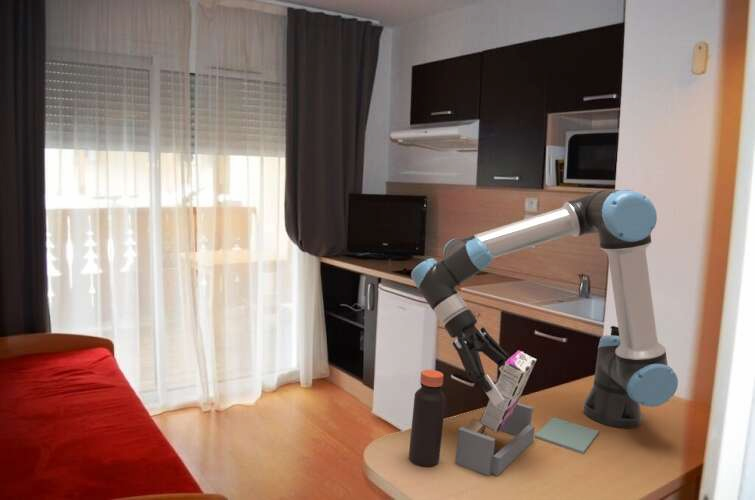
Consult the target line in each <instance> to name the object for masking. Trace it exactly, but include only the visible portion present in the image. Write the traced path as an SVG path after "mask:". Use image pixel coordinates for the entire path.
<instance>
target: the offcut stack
mask: <svg viewBox="0 0 755 500" xmlns="http://www.w3.org/2000/svg"><path fill="white" fill-rule="evenodd" d="M462 427H464V428H466V429H469V430H472V431H475V432H478V433H481V434H483V435H486V436H487V431H486V426H484V425H482V424H481V423H480V419H476V418H473V417H471V418H470V419H469V420H468V421H467V422H466V423H465V424H464V425H463V426H462Z"/></svg>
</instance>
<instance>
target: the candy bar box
mask: <svg viewBox="0 0 755 500" xmlns="http://www.w3.org/2000/svg"><path fill="white" fill-rule="evenodd" d="M509 357H510V358H509V359H508V360H507V361H506V362H505V363H504V366H503V368H502V370H501V371H500V373H499V375H498V377H497V380H496V383H494V384H495V386H496V387H497V389H498V390H499V392H500V393H501V394H502V396H503V397H504V399H505V400H504V401H502V402H501V403H499V404H498V405H496V406H494V405H493V403H492V402H491V400H490V399H488V401H487V403H486V406H485V408H484V411H483V413H482V415H481V417H480V419H479V420H480V423H481V424H482V425H484V426H485V428H487V429H489V430H491V431H493V432H494V433H496V434H498V433H499V432H500V431H501V430H500V429H501V428H502V427H503V426H504V425H505V423H506V422H507V421H508V420H509V419H510V418H511V416H512V414H513V411H514V409H515V407H516V405H517V402H518V403H519V401H520V398H521V396H522V394H523V392H524V389H525V386H526V384H527V382H528V380H529V378H530V375H531V373H532V371H533V369H534V367H535V364H536V362H537V358H535V357H532V356H531V355H530V354H528V353H525V352H524V351H521V350H517V351H516V352H515V353H514V354H512V355H511V356H509Z"/></svg>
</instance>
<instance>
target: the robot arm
mask: <svg viewBox="0 0 755 500" xmlns="http://www.w3.org/2000/svg"><path fill="white" fill-rule="evenodd" d="M657 219H658V217H657V210H656V207H655V205H654V204H653V202H652V201H651V199H650V198H648V197H647V196H646V195H644V194H642V193H640V192H638V191H634V190H630V189H601V190H596V191H594V192H592V193H590V194H587V195H584V196H581V197H578V198H575V199H572V200H570V201H566V202H564V203H563V205H562V207H560V208H556V209H554V210H550V211H547V212H544V213H540V214H537V215H534V216H531V217H527V218H525V219H524V218H523V219H521V220H518V221H514V222H512V223H508V224H506V225H505V224H504V225H501V226H499V227H496V228H491V229H489V230H486V231H483V232H480V233H475V234H473V235H469V236H466V237H463V238H453V239H451V240H449V241H447V242H446V243H445V245H444V248H443V251H442V252H443V253H442V254H443V258H444V259H442V260H441V261H437V260H436V259H435V258H432V257H431V258H428V259H426V260H423V261H422V262H420V263H419V264H417V265H416V266H415V267H414V268H413V269H412V271H411V275H410V276H411V280H412V281H413V283H414V284H415V286H416V288H417V290H419V292H420V294H421V295H422V296H423V298H424V299H425V300H426V302H427V303H428V305H429V307H430V308H431V309H432V311H433V312H434V314H435V317H436V318H437V319H438V320H439V321H440V323H441V324H444V328H445V331H446V332H447V333H448V335H449V336H450V337H451V339H455V338H456V339H455V340H454V341H452V346H453V347H454V349H455V350H456V352H457V355H458V357H459V359H460V362H461V363H462V365H463V368H464V371H465V373H466V375H467V378H468V380H469V381H471V382H472V383H474V384H475V383H476V382H478V384H479V385H480V387H481V388H482V390H483V392H484V393H485V394H486V395H487V397H488V398H489V399H490V400H491V402H492V403H493V405H494V406H496V405H498V404H499V403H501V402H502V401H504V400H505V399H504V397H503V396H502V394H501V393H500V392H499V390H498V389H497V387H496V386H495V384H496V383H494V381H493V380H492V378H491V377H490V376H489V374H486V373H485V370H484V369H485V368H484V366H483V362H482V360H481V357H480V354H479V353H482V354H484V356H486V357H488V358H489V359H490V360H491V361H492V362H494V364H496V365H497V366H499V368H498V370H499V371H500V372H501V370H502V368H503V366H504V363H505V362H506V361H507V360H508V359H509V358H510V357H511V356H510V354H508V352H507V351H505V349H504V348H503V347H502V346H501V345H500V344H499V343H498V342H497V341H496V340H495V339H494V338H493V337H492V336H491V335H490V334H489V332H488V331H487V330H486V328H485V327H483V326H482V327H480V329H478V328H477V327H476V324H477V322H478V319H477V317H476V316H475V314H474V313H473V312H472V311H471V310H470V309H468V304H467V303H466V301H465V300H464V298H462V296H461V295H460V294H459V292H458V291H457V289H456V288H457V287H459V286H460V285H462V284H463V283H464V282H466V281H468V280H470V279H471V278H472V277H474V276H476V275H477V274H478V273H480V272H482V271H484V270H485V269H486V268H487V267H488V266H489V265H491V264H492V262H493V261H494V259H495V258H497V257H502V256H505V255H508V254H511V253H514V252H518V251H521V250H523V249H524V250H525V249H528V248H530V247H533V246H537V245H540V244H544V243H547V242H551V241H554V240H557V239H560V238H563V237H566V236H570V235H571V236H572V237H576V238H578V237H579V236H583V235H589V234H598V240H599V246H600V250H602V251H604V252H605V253H606V254H607V257H608V262H609V263H608V264H609V265H608V266H609V271H610V278H611V285H612V293H613V300H614V307H615V314H616V322H617V327H618V329H619V336H612V335H611V334H610V335H607V334H606V335H603V336H601V338H600V339H599V342H598V346H597V356H596V363H595V370H594V371H595V372H594V379H593V385H592V387H591V389H590V391H589V393H588V395H587V396H586V399H585V401H584V403H583V413H584V414H585V416H587V417H588V418H590V419H591V420H593V421H595V422H598V423H600V424H603V425H606V426H610V427H615V428H623V429H632V428H637V427H640V426H641V423H642V417H643V415H642V410H641V406H644V407H648V408H649V407H650V408H655V407H660V406H662V405H665V404H666V403H668V402H669V401H670V399H671V398H672V397H673V396H674V395H675V394H676V392H677V390H678V385H679V380H678V376H677V374H676V373H675V371H674V369H673V368H672V367H671V366H669V365H668V360H667V351H666V347H665V346H664V345H663V344H662V343H660V342H658V335H657V329H656V328H657V326H656V319H655V312H654V306H653V303H654V302H653V295H652V289H651V282H650V281H651V280H650V274H649V267H648V259H647V251H646V250H647V248H648V247H650V245H651V244H652V235H651V234H652V232H653V230H654V229H655V227H656V225H657ZM489 399H488V400H489Z"/></svg>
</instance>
